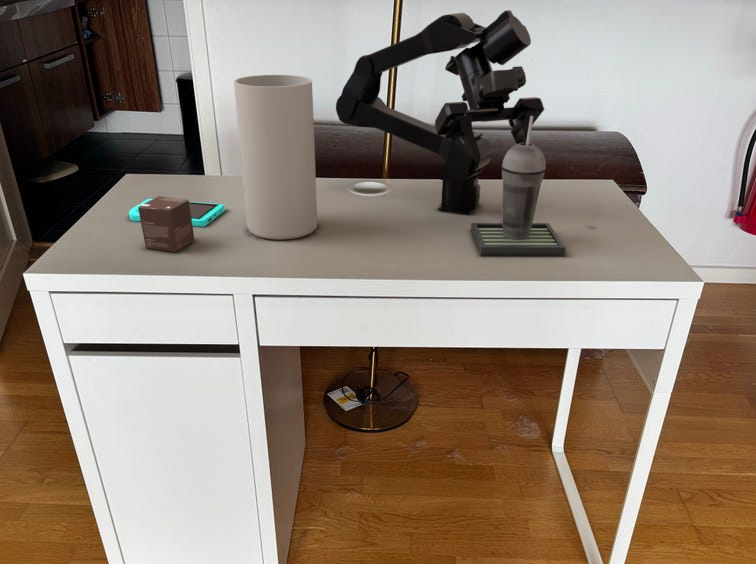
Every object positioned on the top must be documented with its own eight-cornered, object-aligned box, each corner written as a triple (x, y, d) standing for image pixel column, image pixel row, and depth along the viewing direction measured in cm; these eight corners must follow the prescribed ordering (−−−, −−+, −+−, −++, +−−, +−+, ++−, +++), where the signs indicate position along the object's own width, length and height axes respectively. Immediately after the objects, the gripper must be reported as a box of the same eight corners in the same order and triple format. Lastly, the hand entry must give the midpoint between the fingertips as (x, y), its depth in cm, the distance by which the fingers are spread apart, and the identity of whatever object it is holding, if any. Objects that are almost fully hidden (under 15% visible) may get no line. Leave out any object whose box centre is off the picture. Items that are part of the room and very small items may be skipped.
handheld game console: (150, 203, 135) (149, 196, 134) (226, 209, 132) (225, 202, 132) (123, 220, 126) (122, 213, 126) (204, 227, 124) (203, 219, 123)
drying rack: (480, 256, 113) (481, 247, 112) (470, 231, 124) (471, 222, 123) (564, 256, 114) (565, 247, 113) (547, 231, 124) (549, 222, 123)
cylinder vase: (330, 224, 126) (326, 78, 113) (291, 246, 116) (282, 89, 104) (275, 213, 131) (265, 72, 118) (233, 233, 121) (217, 82, 109)
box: (195, 241, 118) (190, 199, 114) (175, 253, 113) (169, 210, 109) (165, 236, 119) (158, 195, 116) (144, 248, 114) (136, 205, 111)
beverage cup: (530, 227, 122) (544, 109, 112) (543, 242, 116) (559, 118, 105) (490, 228, 121) (501, 110, 111) (500, 243, 115) (513, 119, 105)
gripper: (445, 50, 110) (471, 135, 107) (545, 46, 116) (573, 127, 113) (424, 94, 121) (447, 173, 117) (517, 89, 126) (541, 164, 123)
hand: (503, 158), depth 117 cm, fingers open, 9 cm apart
